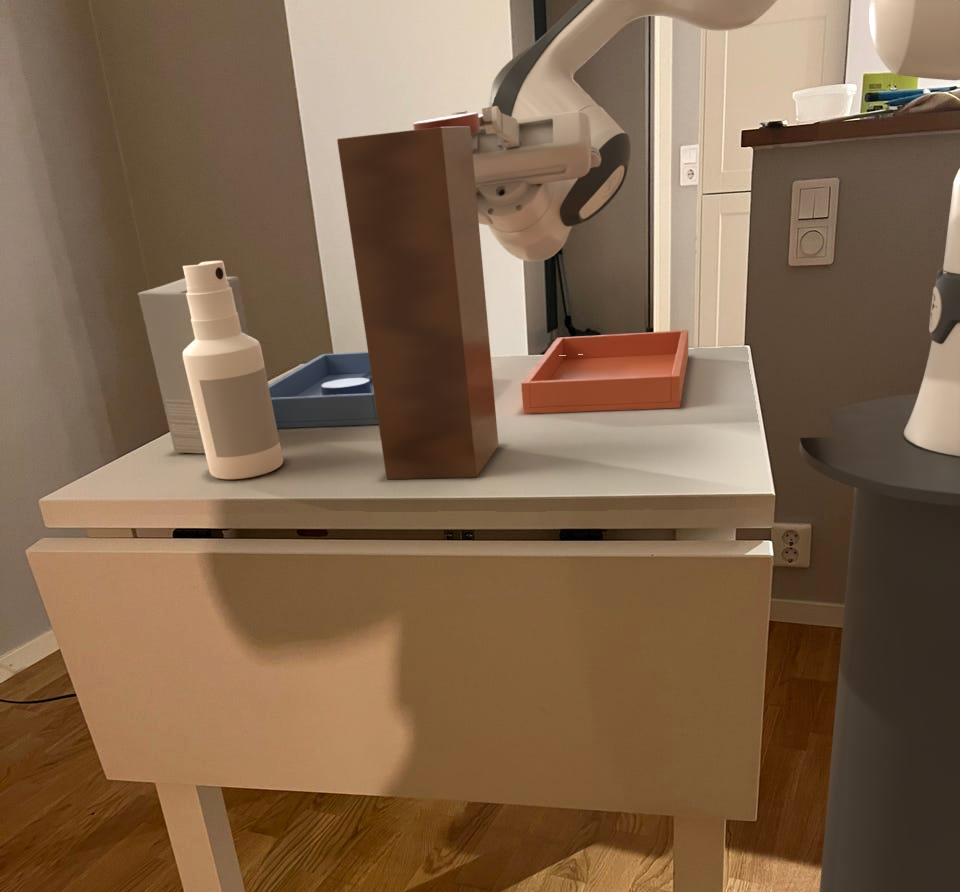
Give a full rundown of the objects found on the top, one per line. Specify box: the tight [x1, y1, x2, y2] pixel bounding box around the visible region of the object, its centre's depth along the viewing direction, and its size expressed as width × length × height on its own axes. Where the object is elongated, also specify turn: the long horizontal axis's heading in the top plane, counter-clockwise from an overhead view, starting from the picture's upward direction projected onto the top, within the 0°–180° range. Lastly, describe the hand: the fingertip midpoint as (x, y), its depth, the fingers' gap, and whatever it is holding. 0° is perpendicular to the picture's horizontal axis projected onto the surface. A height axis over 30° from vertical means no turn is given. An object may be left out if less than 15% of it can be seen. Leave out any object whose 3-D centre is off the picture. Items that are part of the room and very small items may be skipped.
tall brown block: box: [336, 126, 499, 480], centre depth 79 cm, size 8×9×26 cm
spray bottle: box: [182, 260, 284, 480], centre depth 85 cm, size 7×7×18 cm
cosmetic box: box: [137, 276, 250, 454], centre depth 95 cm, size 8×7×16 cm
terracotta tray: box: [520, 329, 689, 415], centre depth 105 cm, size 16×24×3 cm, turn 167°
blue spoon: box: [321, 372, 372, 395], centre depth 115 cm, size 6×18×2 cm, turn 167°
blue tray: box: [268, 351, 379, 429], centre depth 110 cm, size 16×24×3 cm, turn 167°
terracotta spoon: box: [412, 112, 483, 135], centre depth 86 cm, size 6×18×2 cm, turn 167°
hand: (473, 117), depth 90 cm, fingers closed on terracotta spoon, 2 cm apart
